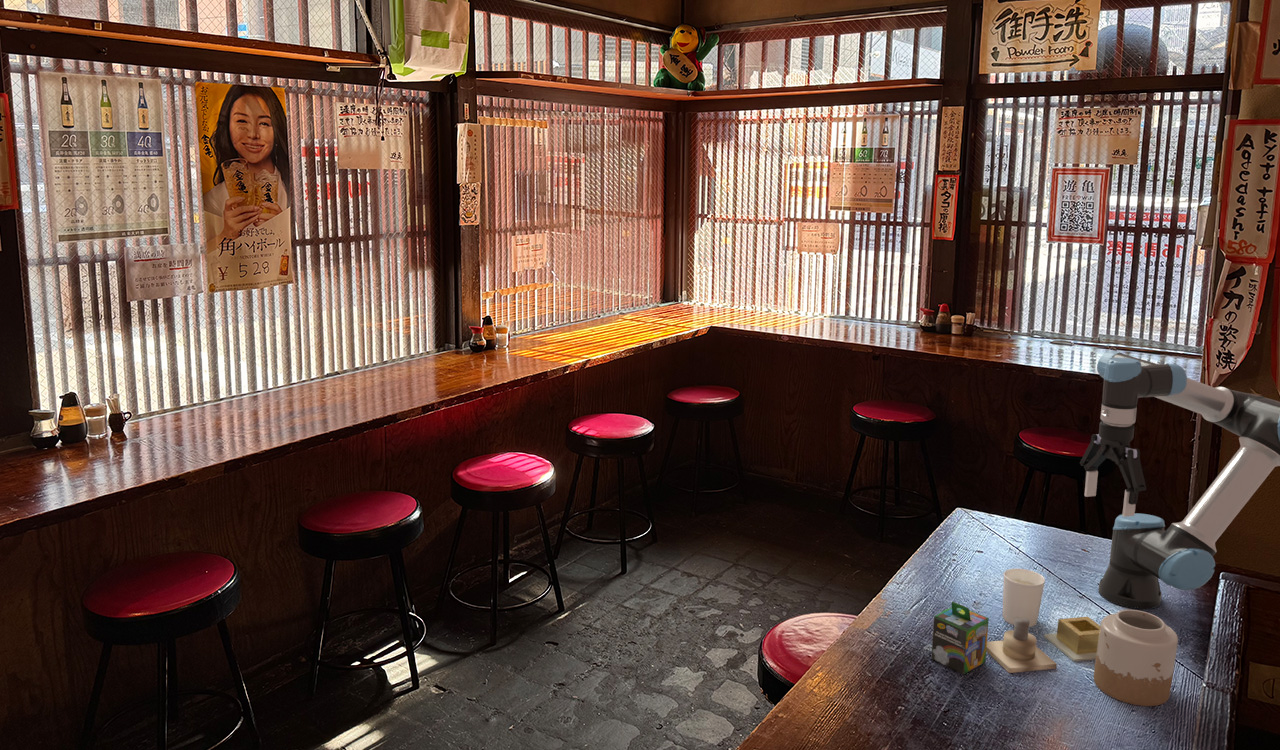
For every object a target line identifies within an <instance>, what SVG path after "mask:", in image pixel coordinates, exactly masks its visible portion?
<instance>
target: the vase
mask: <svg viewBox="0 0 1280 750" xmlns="http://www.w3.org/2000/svg"><path fill="white" fill-rule="evenodd" d="M1099 625H1100V632H1099V639H1098V647H1097V654H1096V660H1095V664H1094V671H1093V681H1094V683H1095V686H1096V687H1097V688H1098V689H1099V690H1100V691H1101V692H1103V693H1104V694H1105V695H1107V696H1109V697H1111V698H1113V699H1115V700H1117V701H1120V702H1122V703H1126V704H1130V705H1134V706H1140V707H1154V706H1155V707H1156V706H1159V705H1164V704H1165V703H1167V702H1168V701H1169V698H1170V697H1171V696H1170V695H1171V690H1172V683H1173V677H1174V670H1175V665H1176V657H1177V651H1178V645H1179V637H1178V635H1177V633H1176V632H1175V630H1173V628H1171V627H1170V626H1169V625H1167V624H1166V623H1165V621H1164V620H1163V619H1161V618H1160V617H1158V616H1157V615H1154V614H1152V613H1150V612H1146V611H1144V610H1140V609H1122V610H1119V611H1117V612H1116V613H1111V614H1108V615H1106V616H1104V617H1103V618H1102V620H1101V621H1100V624H1099Z"/></svg>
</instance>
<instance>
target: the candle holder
mask: <svg viewBox="0 0 1280 750" xmlns="http://www.w3.org/2000/svg"><path fill="white" fill-rule="evenodd" d="M1045 583H1046V579H1045V577H1044V576H1043V575H1042V574H1040V573H1038V572H1035V571H1033V570H1030V569H1026V568H1025V569H1024V568H1009V569H1006V570H1005V571H1004V572H1003V589H1002V618H1003V620H1004V621H1005V622H1006V623H1008V624H1009V625H1012V626H1014V623H1015V619H1016V618H1025V619H1027V620H1028V621H1029V628H1031V627H1035V626H1036V625H1037V624H1038V620H1039V615H1040V609H1041V604H1042V599H1043V595H1044V594H1043V593H1044V588H1045Z"/></svg>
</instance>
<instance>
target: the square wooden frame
mask: <svg viewBox="0 0 1280 750" xmlns="http://www.w3.org/2000/svg"><path fill="white" fill-rule="evenodd" d="M1100 625H1101V624H1099V623H1098V622H1096V621H1094V620H1093V619H1092V618H1091V617H1089V616H1079V617H1078V616H1077V617H1069V618H1067V617H1066V618H1058V620H1057V628H1056V629H1057V630H1056V633H1057V636H1056V638H1057V639H1059V640H1060V641H1061V642H1062V643H1063V644H1065V645H1066V646H1067V647H1068V648H1070V649H1071V650H1072V651H1073V652H1074V653H1076V654H1085V653H1096V652H1097V647H1098V639H1099V632H1100Z"/></svg>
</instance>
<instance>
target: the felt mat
mask: <svg viewBox="0 0 1280 750" xmlns="http://www.w3.org/2000/svg"><path fill="white" fill-rule="evenodd" d="M1056 636H1057V632H1055V633H1045V634H1044V635H1043V637H1044V638H1045V639H1046V640H1047V641H1049V643H1051V645H1053V646H1054V647H1056V648H1057V649H1058V650H1059V651H1061V652H1062V653H1063V654H1064V655H1065V656H1067V657H1068V658H1069V659H1070V660H1071V661H1073V662H1074V663H1075V662H1084V661H1096V654H1097V652H1096V653H1085V654H1076V653H1074V652H1073V651H1072V650H1071V649H1070V648H1068V647H1067V646H1066V645H1065V644H1063V643H1062V642H1061V641H1060V640H1059V639H1057V638H1056Z"/></svg>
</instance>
